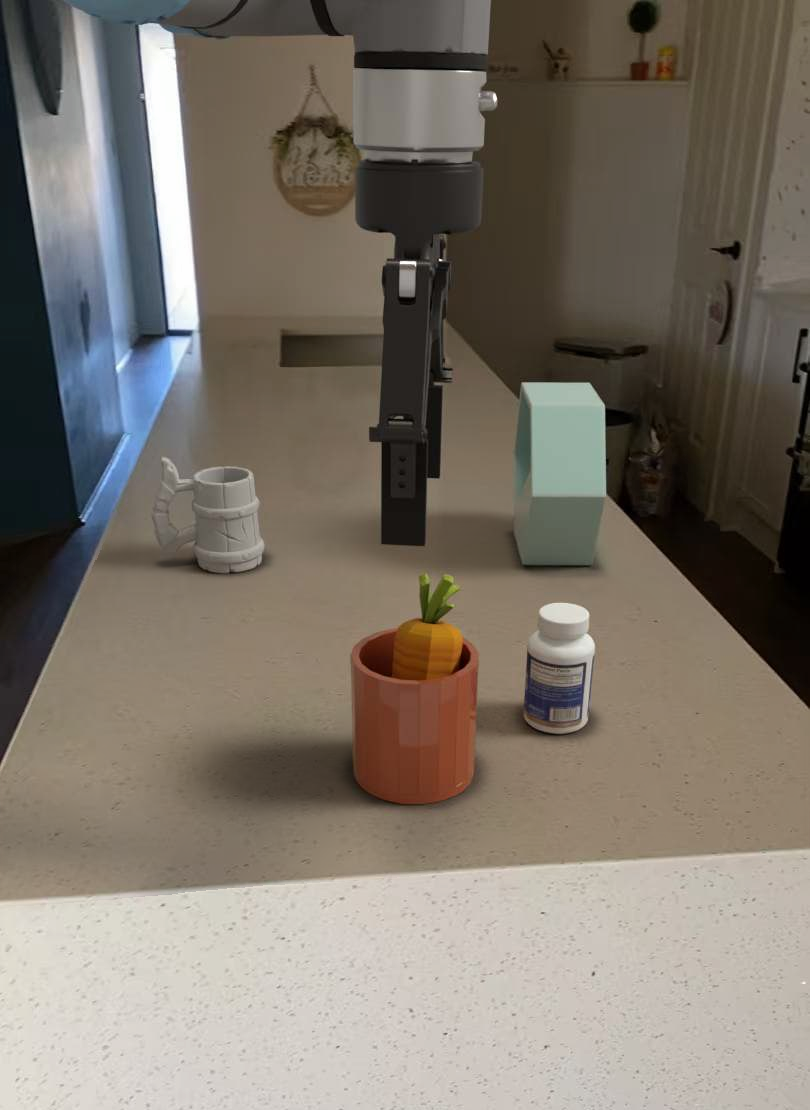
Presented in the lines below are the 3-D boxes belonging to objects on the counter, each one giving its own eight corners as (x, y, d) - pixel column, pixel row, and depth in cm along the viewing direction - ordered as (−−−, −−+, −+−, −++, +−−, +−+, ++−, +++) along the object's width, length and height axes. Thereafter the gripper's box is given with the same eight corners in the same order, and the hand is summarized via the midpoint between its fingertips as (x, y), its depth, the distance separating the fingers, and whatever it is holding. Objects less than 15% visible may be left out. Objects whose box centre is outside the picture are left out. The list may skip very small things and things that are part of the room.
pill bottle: (542, 697, 94) (550, 593, 89) (599, 715, 91) (609, 609, 86) (510, 723, 90) (516, 615, 85) (568, 742, 87) (578, 632, 83)
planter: (514, 579, 128) (512, 408, 130) (580, 579, 128) (577, 408, 130) (532, 549, 112) (529, 352, 113) (607, 548, 112) (604, 352, 113)
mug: (267, 572, 118) (261, 463, 112) (156, 579, 116) (144, 469, 111) (262, 546, 125) (256, 443, 119) (157, 553, 123) (145, 448, 117)
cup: (345, 801, 80) (342, 680, 75) (362, 736, 88) (360, 624, 83) (471, 808, 79) (476, 687, 74) (476, 742, 87) (480, 629, 82)
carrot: (379, 755, 84) (402, 563, 81) (443, 762, 84) (469, 570, 81) (379, 776, 79) (403, 572, 76) (447, 783, 80) (474, 580, 76)
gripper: (475, 170, 52) (459, 582, 62) (490, 148, 74) (475, 455, 84) (320, 167, 53) (329, 575, 63) (379, 146, 74) (379, 451, 85)
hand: (413, 507), depth 74 cm, fingers open, 13 cm apart
